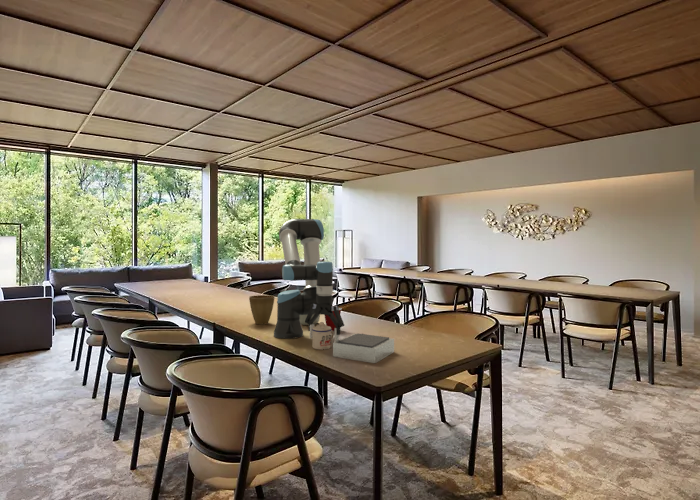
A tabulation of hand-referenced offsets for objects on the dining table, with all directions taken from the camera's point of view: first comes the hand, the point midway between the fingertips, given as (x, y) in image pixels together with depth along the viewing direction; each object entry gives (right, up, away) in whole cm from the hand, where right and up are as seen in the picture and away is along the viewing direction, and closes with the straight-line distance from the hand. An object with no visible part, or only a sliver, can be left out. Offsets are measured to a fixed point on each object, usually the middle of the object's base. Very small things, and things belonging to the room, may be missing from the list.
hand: (324, 339), depth 199 cm
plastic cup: (+2, -3, +38) cm, 38 cm away
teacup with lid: (0, -3, 0) cm, 3 cm away
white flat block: (+20, -4, -10) cm, 22 cm away
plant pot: (-40, -2, +54) cm, 67 cm away
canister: (-13, -2, +54) cm, 55 cm away
